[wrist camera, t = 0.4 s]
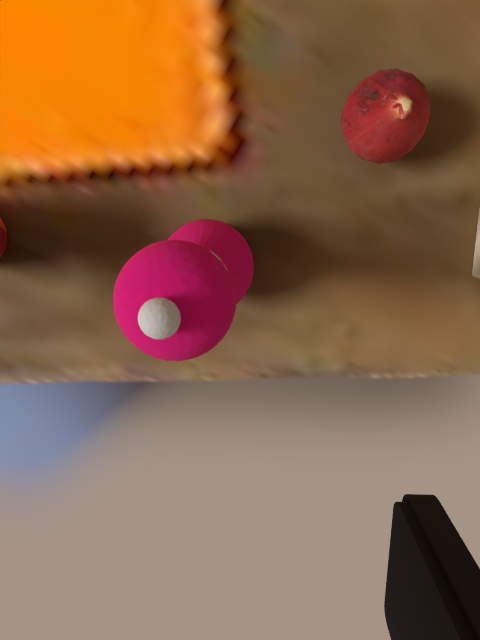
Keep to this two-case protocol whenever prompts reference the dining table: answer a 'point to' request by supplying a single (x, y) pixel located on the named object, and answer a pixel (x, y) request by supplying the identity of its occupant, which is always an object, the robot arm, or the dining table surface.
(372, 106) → the onion
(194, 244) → the pepper mill
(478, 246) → the gear board
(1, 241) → the paper cup
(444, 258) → the dining table surface
